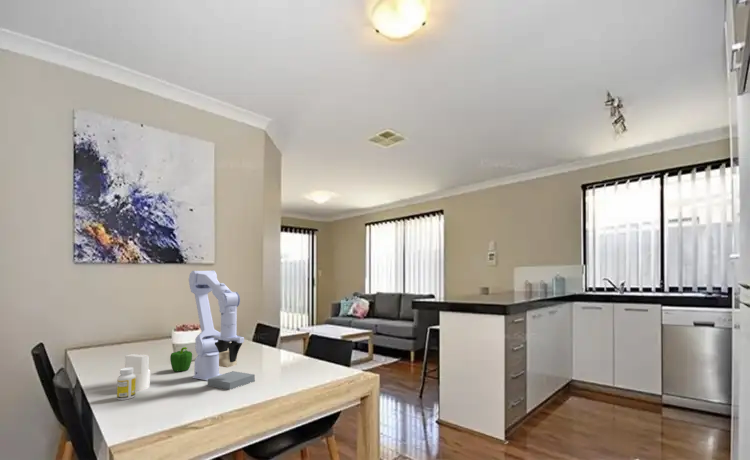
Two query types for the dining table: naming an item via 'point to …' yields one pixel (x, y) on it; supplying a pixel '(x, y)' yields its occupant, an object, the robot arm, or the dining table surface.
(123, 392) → the supplement bottle
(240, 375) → the slate plinth
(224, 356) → the ash block
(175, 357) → the bell pepper
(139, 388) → the base with upright slab
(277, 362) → the dining table surface
